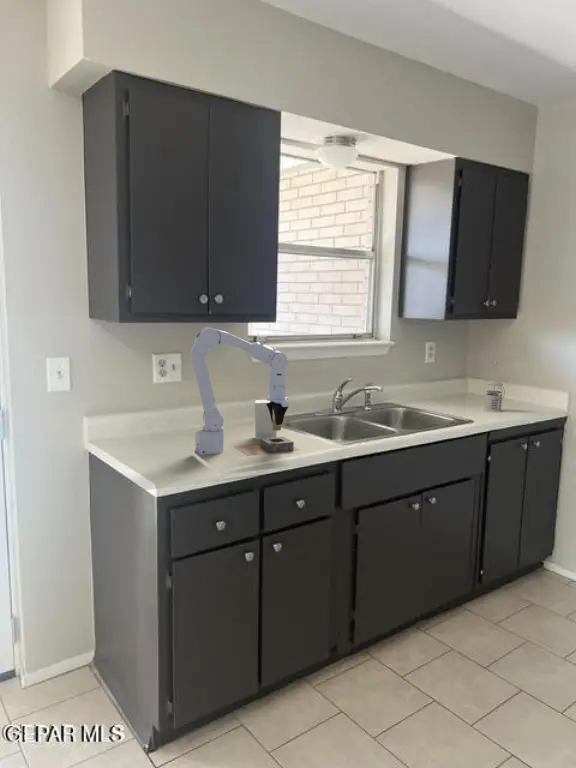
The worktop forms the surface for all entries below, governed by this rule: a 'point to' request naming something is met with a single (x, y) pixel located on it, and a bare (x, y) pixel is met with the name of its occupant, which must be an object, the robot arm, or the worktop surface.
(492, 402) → the french press
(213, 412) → the robot arm
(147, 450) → the worktop surface
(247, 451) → the socket board
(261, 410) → the skincare box
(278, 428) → the birch peg
